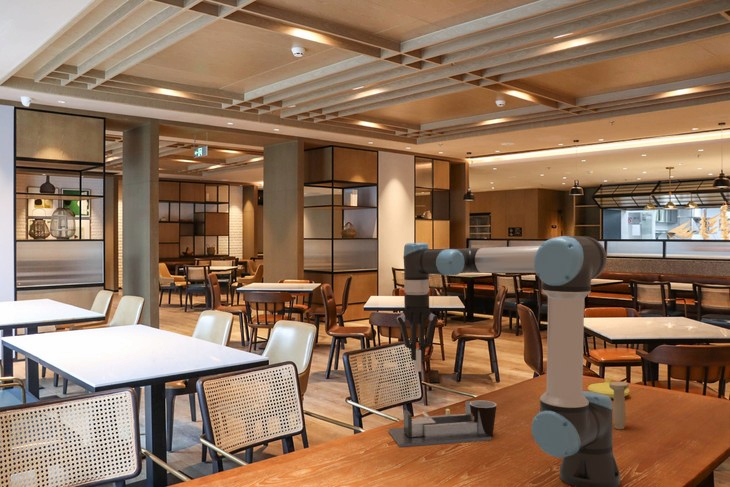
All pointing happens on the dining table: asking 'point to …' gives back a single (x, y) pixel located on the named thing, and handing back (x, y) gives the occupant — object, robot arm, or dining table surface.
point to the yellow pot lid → (604, 388)
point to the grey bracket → (416, 424)
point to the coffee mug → (484, 414)
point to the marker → (447, 412)
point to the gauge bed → (422, 441)
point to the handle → (619, 403)
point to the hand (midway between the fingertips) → (417, 370)
